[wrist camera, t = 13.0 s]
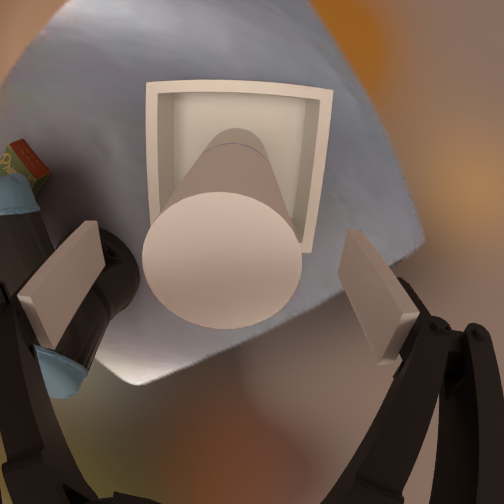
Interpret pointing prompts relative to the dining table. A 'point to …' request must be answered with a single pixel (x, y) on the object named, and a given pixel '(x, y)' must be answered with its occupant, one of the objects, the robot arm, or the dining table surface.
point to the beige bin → (246, 117)
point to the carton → (24, 164)
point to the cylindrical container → (224, 239)
